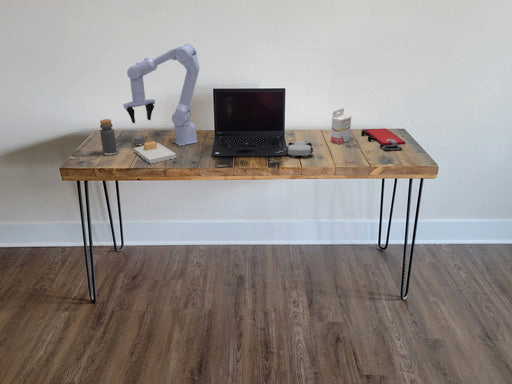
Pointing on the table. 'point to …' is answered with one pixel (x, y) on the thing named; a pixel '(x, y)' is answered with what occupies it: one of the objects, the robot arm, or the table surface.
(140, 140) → the cover
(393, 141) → the red board with handle
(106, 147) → the bottle
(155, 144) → the slider
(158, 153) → the white layered base plate
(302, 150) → the robot toy
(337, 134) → the ink cartridge box
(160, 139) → the table surface
